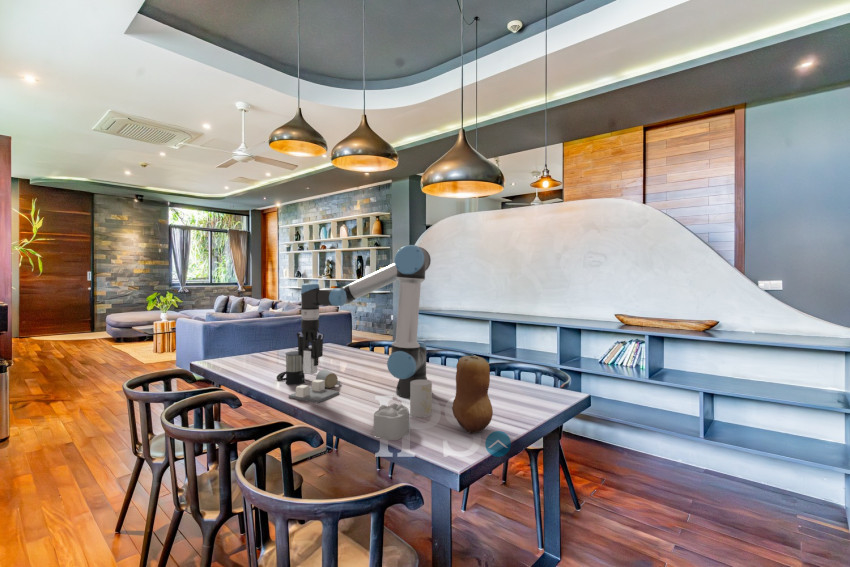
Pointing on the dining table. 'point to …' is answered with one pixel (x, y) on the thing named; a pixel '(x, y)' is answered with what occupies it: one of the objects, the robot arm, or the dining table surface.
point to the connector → (308, 360)
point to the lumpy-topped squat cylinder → (391, 422)
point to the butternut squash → (472, 394)
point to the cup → (421, 398)
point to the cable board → (313, 392)
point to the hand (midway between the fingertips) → (310, 372)
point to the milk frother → (293, 369)
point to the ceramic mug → (328, 378)
